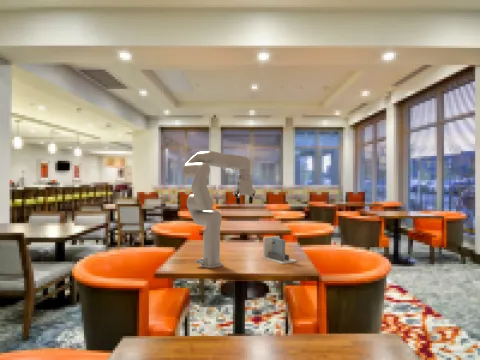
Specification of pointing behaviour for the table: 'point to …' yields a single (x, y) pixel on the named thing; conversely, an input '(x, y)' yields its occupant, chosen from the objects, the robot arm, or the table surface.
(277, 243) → the door panel
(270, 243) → the cabinet base
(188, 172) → the robot arm
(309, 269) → the table surface
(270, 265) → the table surface
